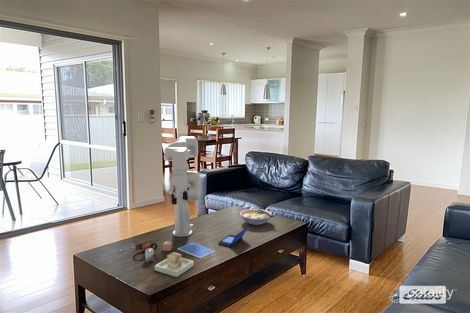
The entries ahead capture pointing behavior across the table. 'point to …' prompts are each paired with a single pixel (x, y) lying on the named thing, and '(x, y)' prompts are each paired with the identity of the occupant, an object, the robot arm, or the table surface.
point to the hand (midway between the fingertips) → (179, 201)
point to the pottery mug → (145, 246)
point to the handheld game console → (232, 239)
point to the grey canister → (149, 255)
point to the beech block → (174, 260)
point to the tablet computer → (196, 250)
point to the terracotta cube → (167, 246)
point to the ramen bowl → (256, 216)
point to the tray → (174, 272)
